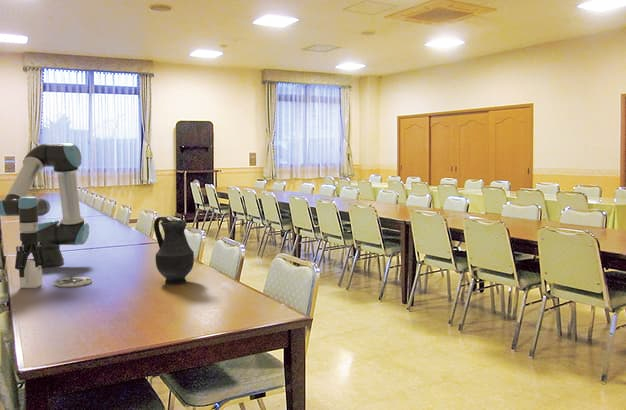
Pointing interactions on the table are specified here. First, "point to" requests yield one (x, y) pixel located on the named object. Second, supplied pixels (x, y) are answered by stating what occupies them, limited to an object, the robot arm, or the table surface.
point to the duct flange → (72, 282)
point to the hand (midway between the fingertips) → (31, 281)
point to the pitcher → (173, 251)
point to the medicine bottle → (32, 274)
